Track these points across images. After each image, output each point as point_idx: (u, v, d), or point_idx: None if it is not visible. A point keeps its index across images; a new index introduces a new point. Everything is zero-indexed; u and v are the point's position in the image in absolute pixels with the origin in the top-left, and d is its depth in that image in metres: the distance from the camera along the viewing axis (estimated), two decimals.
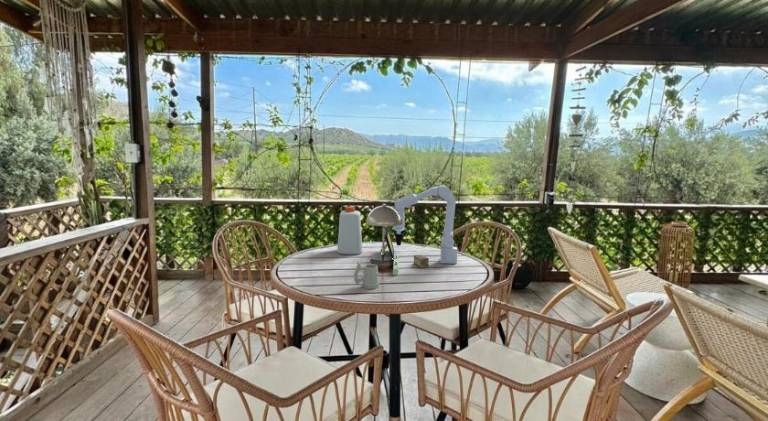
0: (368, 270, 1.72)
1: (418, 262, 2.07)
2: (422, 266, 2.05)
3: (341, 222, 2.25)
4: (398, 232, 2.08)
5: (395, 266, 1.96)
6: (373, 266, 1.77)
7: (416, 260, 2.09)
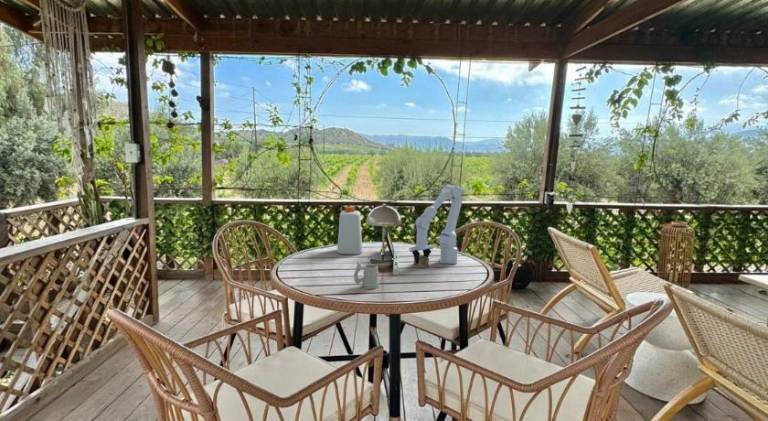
0: (368, 270, 1.72)
1: None
2: (422, 266, 2.05)
3: (341, 222, 2.25)
4: (410, 249, 2.05)
5: (395, 266, 1.96)
6: (373, 266, 1.77)
7: None
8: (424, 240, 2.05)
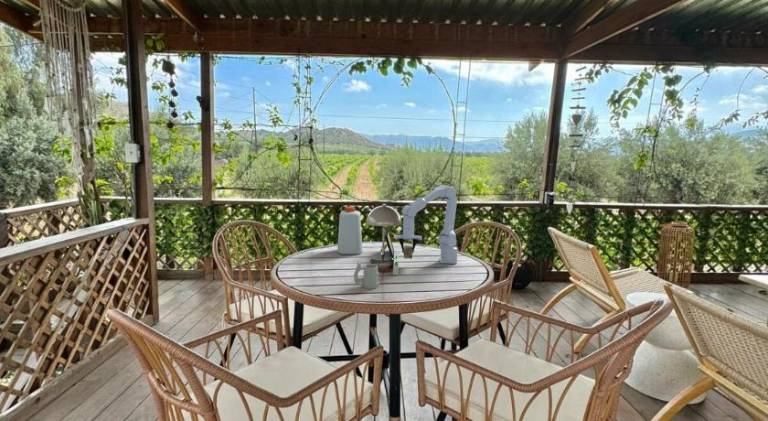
0: (368, 270, 1.72)
1: None
2: (405, 256, 2.00)
3: (341, 222, 2.25)
4: None
5: (395, 266, 1.96)
6: (373, 266, 1.77)
7: None
8: (408, 229, 1.99)
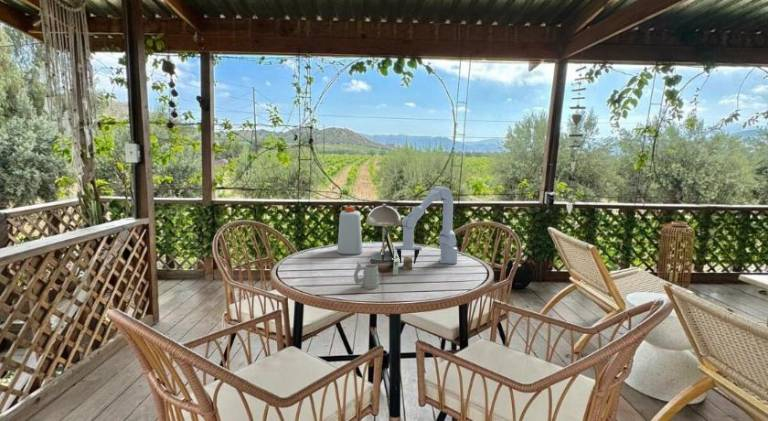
0: (368, 270, 1.72)
1: (403, 264, 2.04)
2: (404, 268, 2.01)
3: (341, 222, 2.25)
4: None
5: (395, 266, 1.96)
6: (373, 266, 1.77)
7: (403, 261, 2.06)
8: (408, 240, 2.00)
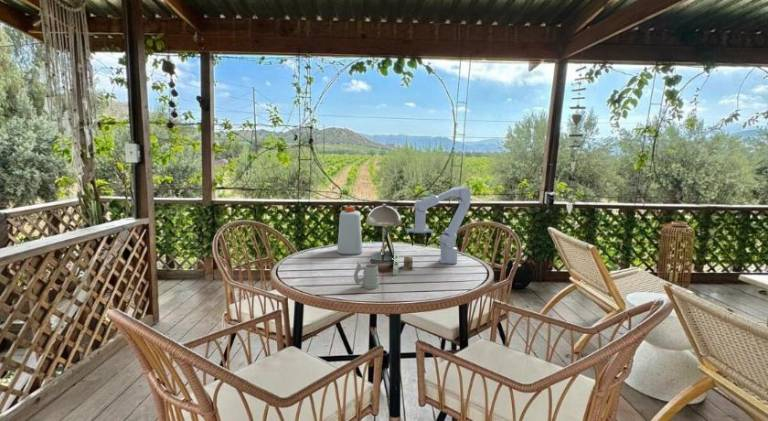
0: (368, 270, 1.72)
1: None
2: (405, 268, 2.01)
3: (341, 222, 2.25)
4: None
5: (395, 266, 1.96)
6: (373, 266, 1.77)
7: None
8: (420, 223, 2.06)
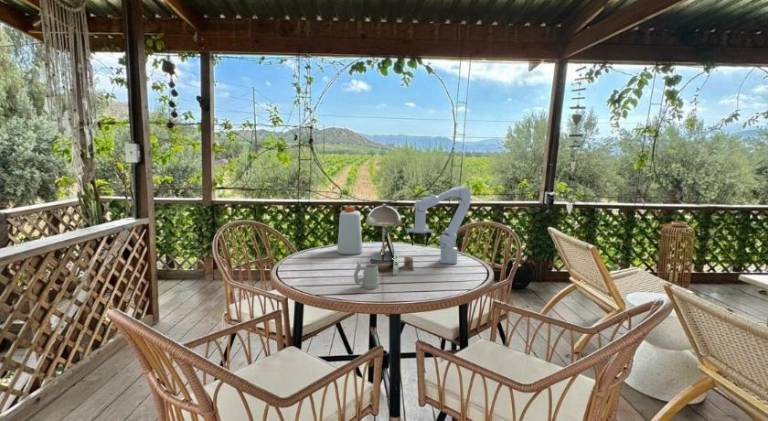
0: (368, 270, 1.72)
1: (404, 264, 2.04)
2: (405, 268, 2.01)
3: (341, 222, 2.25)
4: None
5: (395, 266, 1.96)
6: (373, 266, 1.77)
7: (404, 261, 2.06)
8: (420, 223, 2.06)
